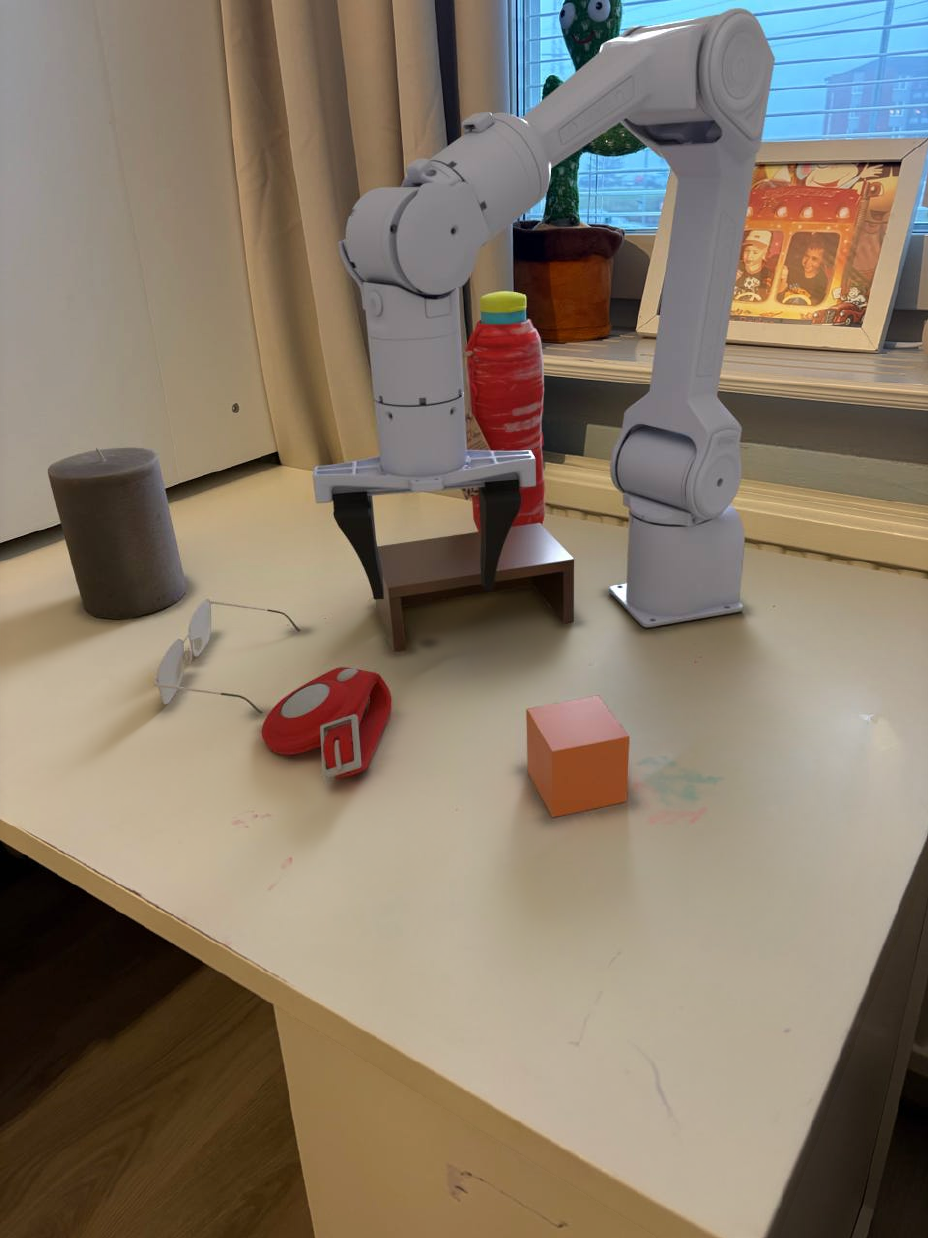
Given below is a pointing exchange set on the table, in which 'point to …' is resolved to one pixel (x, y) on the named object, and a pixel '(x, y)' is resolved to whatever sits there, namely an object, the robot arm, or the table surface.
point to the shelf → (472, 573)
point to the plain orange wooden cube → (577, 755)
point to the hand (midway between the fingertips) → (433, 588)
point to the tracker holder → (332, 720)
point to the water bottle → (506, 393)
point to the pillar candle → (118, 531)
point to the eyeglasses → (175, 656)
